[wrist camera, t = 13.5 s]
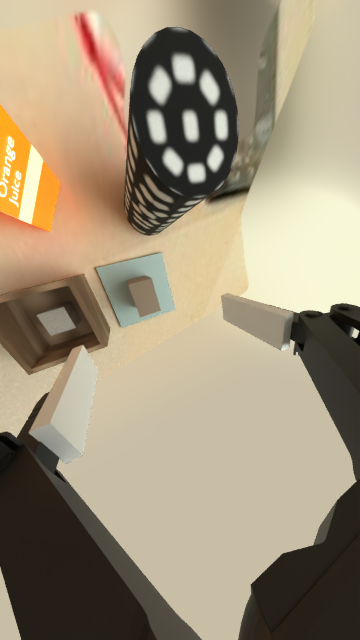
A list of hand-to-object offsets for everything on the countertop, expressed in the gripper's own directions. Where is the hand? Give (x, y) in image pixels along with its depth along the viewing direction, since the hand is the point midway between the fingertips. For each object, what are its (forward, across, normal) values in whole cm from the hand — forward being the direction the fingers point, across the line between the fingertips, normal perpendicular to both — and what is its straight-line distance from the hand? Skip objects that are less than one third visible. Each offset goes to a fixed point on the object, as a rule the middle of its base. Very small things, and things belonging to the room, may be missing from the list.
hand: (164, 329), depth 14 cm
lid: (+22, +1, 0) cm, 22 cm away
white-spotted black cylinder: (+22, +7, +14) cm, 27 cm away
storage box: (+22, -14, 0) cm, 26 cm away
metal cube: (+21, -14, 0) cm, 25 cm away
